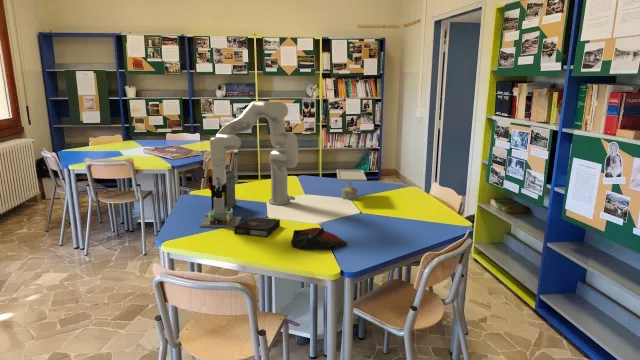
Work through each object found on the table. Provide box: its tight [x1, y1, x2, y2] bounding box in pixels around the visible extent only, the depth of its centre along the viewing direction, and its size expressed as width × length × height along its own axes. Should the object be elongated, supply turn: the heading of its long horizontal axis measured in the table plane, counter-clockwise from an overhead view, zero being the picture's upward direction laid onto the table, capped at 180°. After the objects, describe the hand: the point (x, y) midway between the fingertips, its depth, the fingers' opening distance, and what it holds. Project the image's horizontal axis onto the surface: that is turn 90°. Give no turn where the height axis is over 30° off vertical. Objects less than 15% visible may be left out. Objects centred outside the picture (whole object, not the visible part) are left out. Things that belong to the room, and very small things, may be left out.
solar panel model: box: [336, 169, 368, 201], centre depth 269 cm, size 28×17×15 cm, turn 179°
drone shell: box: [290, 227, 348, 251], centre depth 192 cm, size 21×20×8 cm
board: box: [205, 197, 234, 218], centre depth 218 cm, size 12×7×9 cm, turn 91°
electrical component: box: [207, 170, 238, 211], centre depth 242 cm, size 18×10×20 cm, turn 168°
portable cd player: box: [233, 216, 281, 238], centre depth 210 cm, size 16×17×4 cm
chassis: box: [199, 208, 242, 229], centre depth 219 cm, size 18×14×6 cm
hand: (221, 195), depth 217 cm, fingers open, 9 cm apart
